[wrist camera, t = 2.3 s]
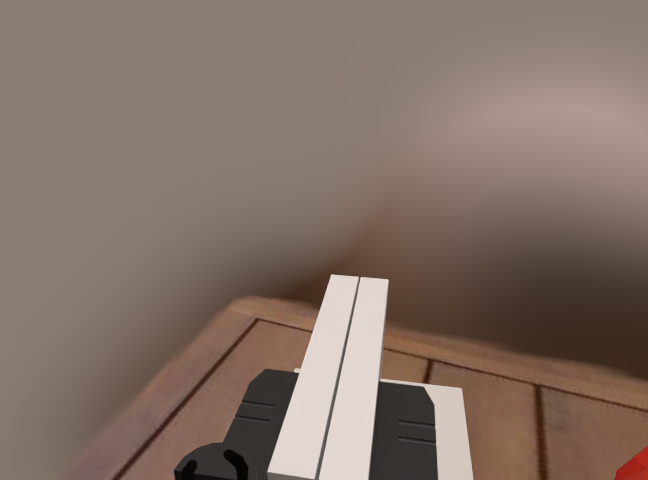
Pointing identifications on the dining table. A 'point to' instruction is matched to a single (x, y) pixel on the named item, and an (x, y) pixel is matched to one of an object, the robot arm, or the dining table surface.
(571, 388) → the dining table surface
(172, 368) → the dining table surface
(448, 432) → the flat white rectangular board
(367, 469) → the robot arm
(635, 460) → the tomato
